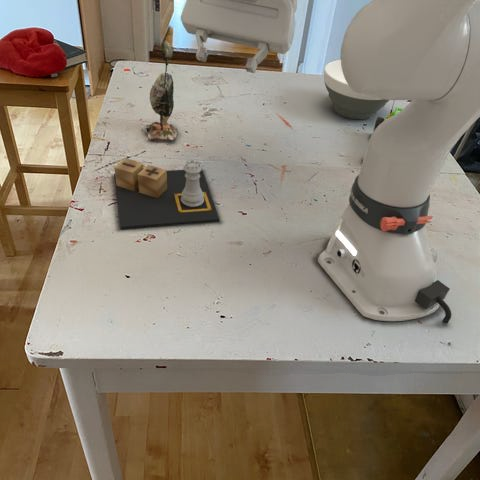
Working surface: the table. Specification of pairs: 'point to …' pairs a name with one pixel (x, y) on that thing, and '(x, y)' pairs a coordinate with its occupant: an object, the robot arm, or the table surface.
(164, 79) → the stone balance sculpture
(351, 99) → the bowl
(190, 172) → the rook chess piece
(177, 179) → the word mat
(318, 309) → the table surface
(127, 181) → the plus minus wooden blocks
